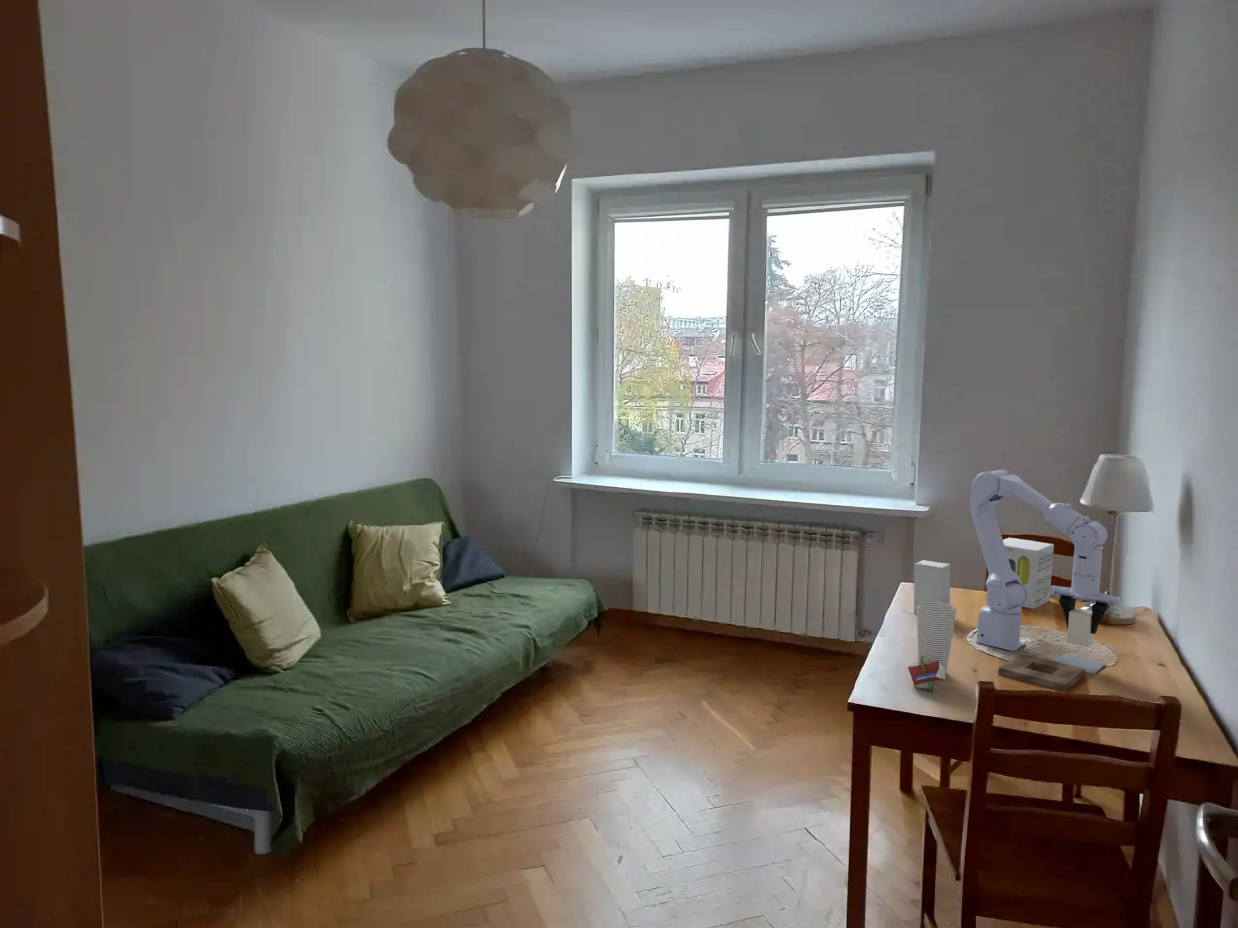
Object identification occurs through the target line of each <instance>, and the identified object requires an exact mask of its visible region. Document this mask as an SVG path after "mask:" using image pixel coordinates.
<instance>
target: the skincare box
mask: <svg viewBox="0 0 1238 928" xmlns="http://www.w3.org/2000/svg"><path fill="white" fill-rule="evenodd" d="M913 575H914V576H913V580H914V581H913V583H914V584H913V585H914V587H913V614H915V615H917V604H918V603H919V602H923V601H936V602H943V603H947V604H951V563H946V562H945V563H943V562H937V561H932V560H926V559H923V560H920V561H918V562H916V563H914V574H913Z"/></svg>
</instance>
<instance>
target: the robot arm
mask: <svg viewBox="0 0 1238 928" xmlns="http://www.w3.org/2000/svg"><path fill="white" fill-rule="evenodd" d="M970 487H971V494H970V498H969V499H970V501H969V507H968V508H969V512H970V514H971V515H970V516H971V518H972V520H973V525H974V528H975V532H976V535H977V539H978V541H979V545H980V549H981V552H982V555H983V559H984V562H985V566H986V569H987V572H988V577H987V580H986V582H985V587H986V594H985V595H986V597H985V599H986V603H987V605H988V606H987V605H983V606H982V607H981V609H980V611H979V613H978V619H977V620H978V621H977V635H976V640H975V643H977V644H983V645H985V646H986V645H987V646H991V647H995V648H1000V649H1003V650H1007V651H1011V652H1015V651H1017V650H1019V648H1022V647H1023V646H1024V645H1025V644H1026V641H1021V640H1020V639H1021V637H1020V636H1021V624H1022V613H1023V611H1022V610H1023V609H1022V608H1023V607H1022V604H1024V603H1025V602H1026V600H1027V597H1028V594H1027V590H1026V588H1025V587H1024V586H1023V584H1022V583H1021V582H1020V579H1019V576H1018V575H1017V574H1016V573H1015V572H1014V571H1013V570H1012V569H1011V566H1010V563H1009V559H1008V556H1007V552H1006V549H1005V546H1004V542H1003V540H1004V539H1003V535H1002V533H1001V530H1000V529H1001V528H1000V526H999V523H998V519H997V516H996V512H995V508H996V507H997V505H998V504H999V502H1000V501H1001V500H1002V499H1003V498H1004V497H1011V498H1012V497H1013V498H1017V499H1018V500H1020V501H1021V502H1023V503H1025V504H1027V505H1029V506H1030V507H1032V508H1033V509H1035V510H1036V511H1038V512H1040V513H1042V514H1043V515H1044V519H1045V521H1046V523H1048V524H1049V525H1051V526H1052V527H1054V528H1055V529H1057V530H1058V531H1060V532H1061V533H1062V534H1064V535H1066V536H1067V537H1069V538H1070V540H1071V542H1072V544H1073V545H1074V550H1073V552H1074V553H1073V562H1072V573H1071V586H1070V587H1067V586H1059V585H1051V586H1050V596H1051V595H1052V596H1059V597H1060V598H1058V602H1059V606H1060V607H1061V609H1062V611H1063V615H1064V618H1065V622H1066V629H1068V623H1069V612H1070V611H1071V610H1073V609H1074V608H1076V607H1075V606H1076V603H1077V602H1076V601H1077V600H1080V601H1085V602H1092V603H1094V604H1092V605H1091V611H1092V624H1091V634H1097V631H1098V628H1099V625H1100V622H1101V620H1102V618H1103V616H1104V615H1105V614H1106V612H1107V610H1108V608H1109V607H1110V606H1112V607H1113V608H1119V607H1121V599H1122V598H1121V597H1118V596H1114V595H1111V594H1107V593H1102V592H1100V587H1101V586H1100V585H1101V583H1100V582H1101V574H1102V571H1101V570H1102V564H1103V563H1102V560H1103V547H1104V546H1103V544H1105V543H1106V542H1107V540H1108V537H1109V533H1108V530H1107V528H1106V527H1105V525H1103V524H1102V523H1101V522H1100V521H1097V520H1090V516H1087V515H1084V516H1083V515H1082V514H1081V513H1079V512H1078V511H1075V510H1074V509H1073V508H1072V506H1073V505H1071V504H1070V503H1063V502H1055V503H1054V502H1053V501H1051V500H1050V499H1048V498H1047V497H1046V496H1044V495H1043V494H1041V493H1040V492H1039V491H1037V490H1036V489H1034V488H1033V487H1032V486H1030V485H1029V484H1028V483H1026V482H1025V481H1023V480H1022V479H1021V478H1020V476H1018V475H1016V474H1013V473H1011V472H1010V471H1009V470H1007V469H998V470H992V471H982V472H979V473H978V474H977V475H976V476H974V478H973V480H972V481H971V483H970Z"/></svg>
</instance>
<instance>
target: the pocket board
mask: <svg viewBox="0 0 1238 928" xmlns="http://www.w3.org/2000/svg"><path fill="white" fill-rule="evenodd" d="M1033 669H1035V670H1033ZM1037 670H1039V671H1037ZM1041 671H1043V672H1041ZM997 673H998V675H1001V676H1004V677H1009V678H1013V679H1016V680H1020V681H1023V682H1028V683H1032V684H1034V685H1039V686H1042V687H1047V688H1050V689H1054V690H1057V691H1062V692H1066V691H1067V690H1069V688H1070V687H1072V686H1073V685H1074V684H1076V682H1078V681H1079V680H1080V679H1081V678H1083V677H1084V676H1085V674H1086V673H1085V668H1080V667H1076V666H1072V665H1068V664H1064V663H1060V662H1056V661H1055V660H1051V659H1047V658H1042V657H1039V656H1035V655H1031V654H1026V653H1024V652H1023V653H1022V652H1021V653H1019V654H1018V655H1016V656H1015V657H1013V658H1012V659H1010V660H1009V661H1007V662H1005V663H1003V664H1002V665H1000V666H999V667H998V672H997Z"/></svg>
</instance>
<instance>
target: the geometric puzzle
mask: <svg viewBox="0 0 1238 928" xmlns="http://www.w3.org/2000/svg"><path fill="white" fill-rule="evenodd" d="M924 658H925V656H924ZM927 658H928V657H927ZM930 659H931V658H930ZM927 660H928V659H927ZM916 661H918V659H916V660H915V662H916ZM927 662H931V663H927V664H925V662H924V660H923V657H921V661H920V662H919V663H921V664H922V665H918V664H917V665H916V663H913V665H912V664H910V665H909V666H907V669H908V672H909V674H910V678H911V681H912V683H913V687H918V686H920V685H921V686H923V687H925V686H924V685H925V684H927V685H928V687H929V689H927V688H926V687H925V688H926V689H924V690H926V691H929V692H930V693H931V692H932V691H933V690H935V688H936V687H934V688H933V686H934V685H936V684H937V683H938V684H939V685H940V684H941V683H942V682H944V681H945V680H947V678H946V674H945V669H944V668H943V666H942V665H941V663H940V662H939V661H937V662H935V661H929V660H928V661H927ZM934 682H935V683H934Z"/></svg>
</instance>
